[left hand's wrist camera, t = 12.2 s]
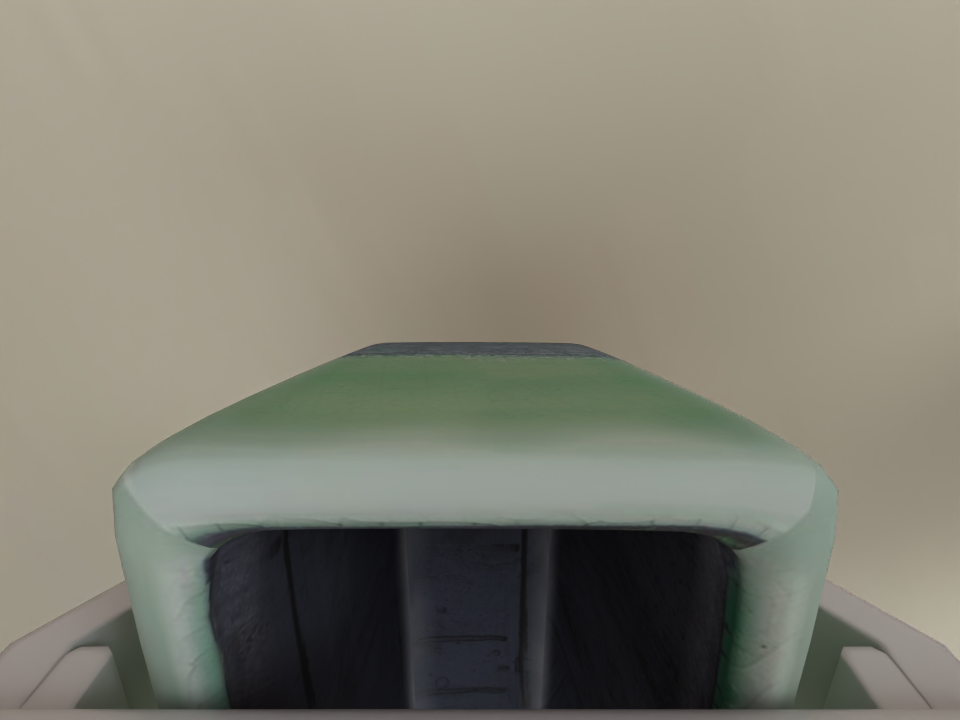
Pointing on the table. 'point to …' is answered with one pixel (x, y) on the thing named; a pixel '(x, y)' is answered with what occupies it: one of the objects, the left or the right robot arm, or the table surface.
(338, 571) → the planter
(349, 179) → the table surface
